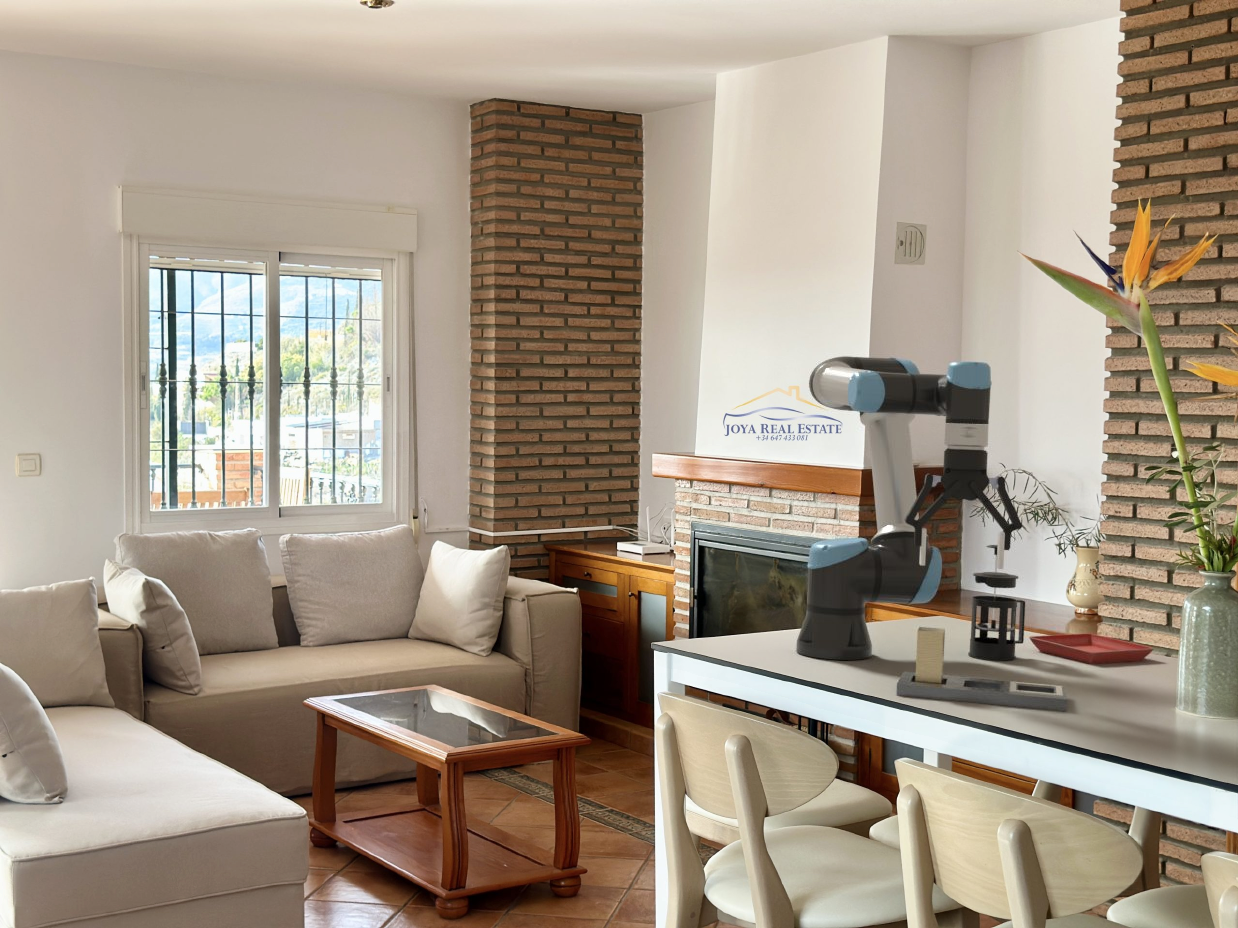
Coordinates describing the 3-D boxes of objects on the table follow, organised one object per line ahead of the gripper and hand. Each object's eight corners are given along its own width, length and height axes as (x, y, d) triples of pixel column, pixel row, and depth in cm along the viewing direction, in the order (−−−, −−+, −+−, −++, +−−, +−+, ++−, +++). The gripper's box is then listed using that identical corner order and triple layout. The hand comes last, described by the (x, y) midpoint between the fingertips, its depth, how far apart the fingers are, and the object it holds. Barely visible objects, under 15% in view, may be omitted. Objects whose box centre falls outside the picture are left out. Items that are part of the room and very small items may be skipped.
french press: (977, 660, 267) (982, 546, 266) (957, 652, 276) (962, 542, 275) (1031, 661, 269) (1037, 548, 268) (1010, 652, 278) (1015, 543, 277)
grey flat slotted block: (896, 694, 230) (897, 681, 230) (902, 682, 241) (903, 669, 241) (1066, 711, 222) (1067, 697, 222) (1065, 697, 233) (1065, 684, 233)
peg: (914, 692, 233) (917, 630, 232) (916, 688, 237) (919, 626, 237) (940, 695, 231) (943, 632, 231) (942, 690, 236) (944, 628, 235)
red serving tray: (1155, 662, 274) (1156, 646, 274) (1090, 667, 266) (1091, 651, 266) (1088, 647, 290) (1089, 632, 290) (1026, 651, 282) (1026, 636, 282)
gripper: (896, 445, 235) (891, 565, 236) (1041, 451, 232) (1036, 572, 233) (893, 445, 243) (888, 561, 243) (1034, 450, 239) (1028, 567, 240)
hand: (960, 566), depth 238 cm, fingers open, 13 cm apart
